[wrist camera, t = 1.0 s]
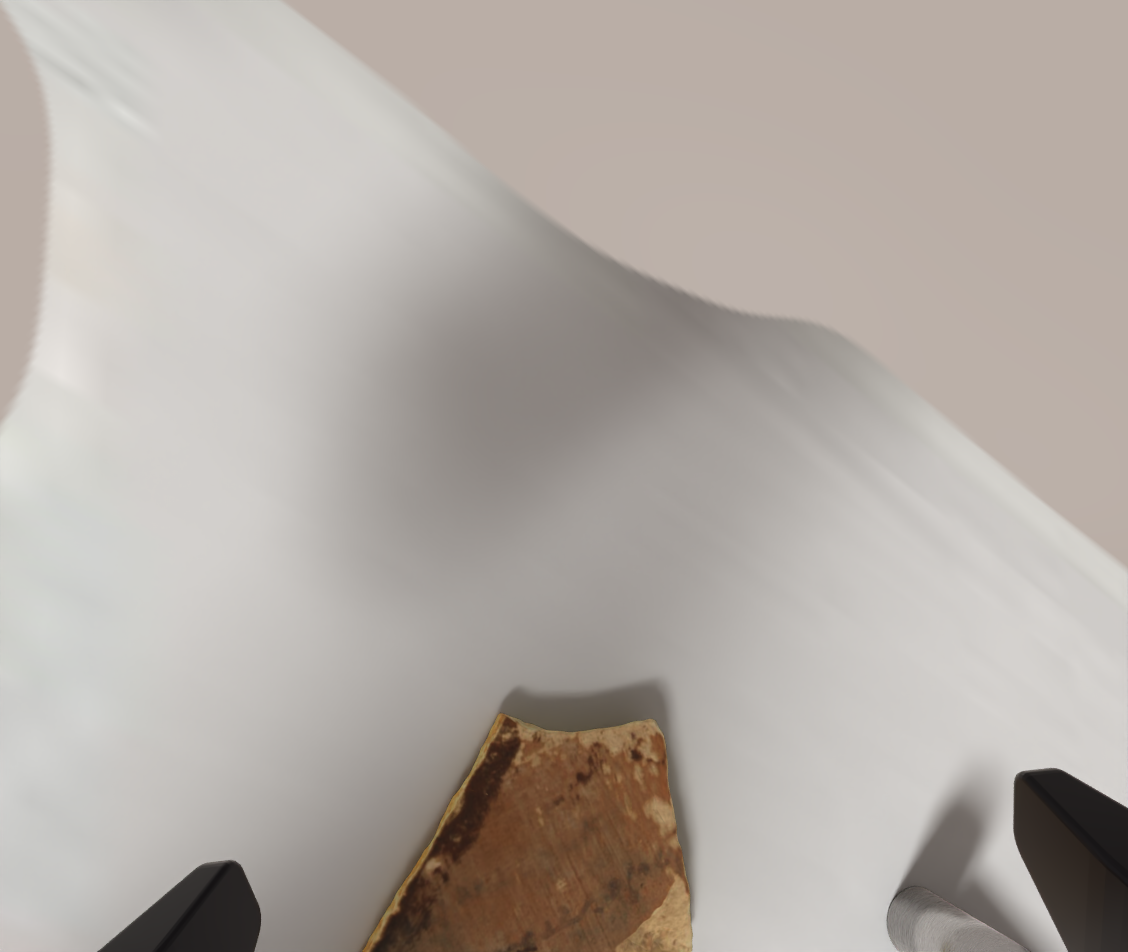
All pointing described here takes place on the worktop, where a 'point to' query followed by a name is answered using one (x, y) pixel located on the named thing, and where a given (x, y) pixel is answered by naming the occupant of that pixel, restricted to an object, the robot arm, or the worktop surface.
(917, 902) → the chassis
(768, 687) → the worktop surface
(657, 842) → the shard
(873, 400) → the worktop surface
